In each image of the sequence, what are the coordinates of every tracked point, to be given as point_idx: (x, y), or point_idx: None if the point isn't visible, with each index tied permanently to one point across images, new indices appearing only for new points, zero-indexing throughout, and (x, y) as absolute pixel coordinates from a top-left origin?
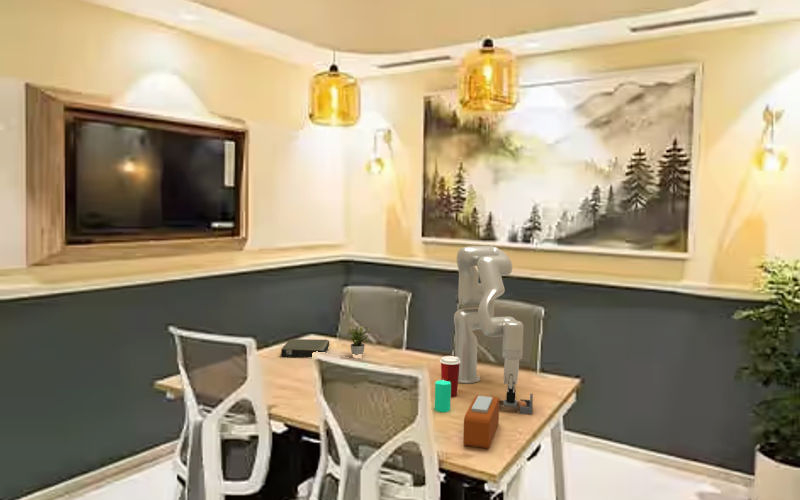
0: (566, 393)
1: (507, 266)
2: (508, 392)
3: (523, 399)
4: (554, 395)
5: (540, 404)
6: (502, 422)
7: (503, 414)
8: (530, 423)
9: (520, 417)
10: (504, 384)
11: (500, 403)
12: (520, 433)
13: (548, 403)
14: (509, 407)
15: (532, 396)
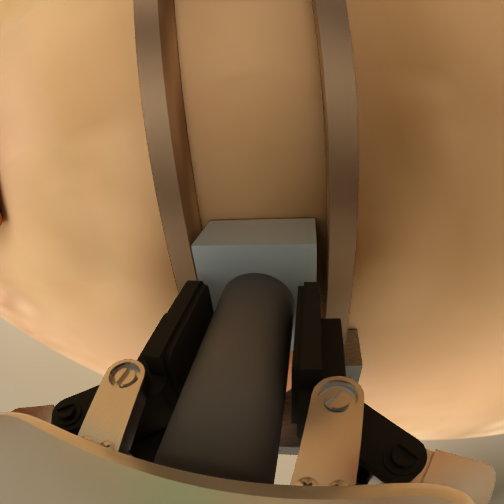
0: (496, 434)
1: None
2: (127, 371)
3: (356, 380)
4: (490, 418)
5: (386, 406)
6: (28, 237)
7: (120, 229)
8: (93, 353)
9: (131, 324)
10: (9, 412)
11: (327, 188)
12: (6, 305)
13: (401, 424)
14: (178, 283)
15: (287, 453)
